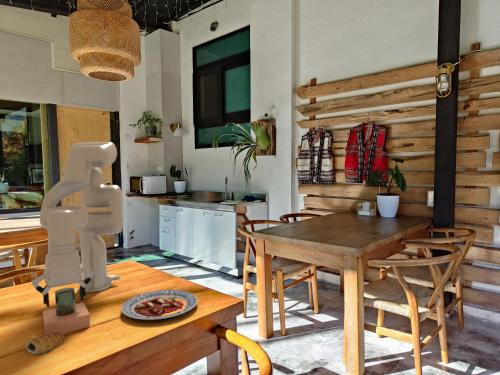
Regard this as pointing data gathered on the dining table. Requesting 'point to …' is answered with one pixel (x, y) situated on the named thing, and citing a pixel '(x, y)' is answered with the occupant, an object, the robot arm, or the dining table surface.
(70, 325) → the terracotta stand
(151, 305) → the ceramic plate
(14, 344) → the dining table surface
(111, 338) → the dining table surface
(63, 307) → the tea tin
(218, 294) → the dining table surface
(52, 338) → the pastry
